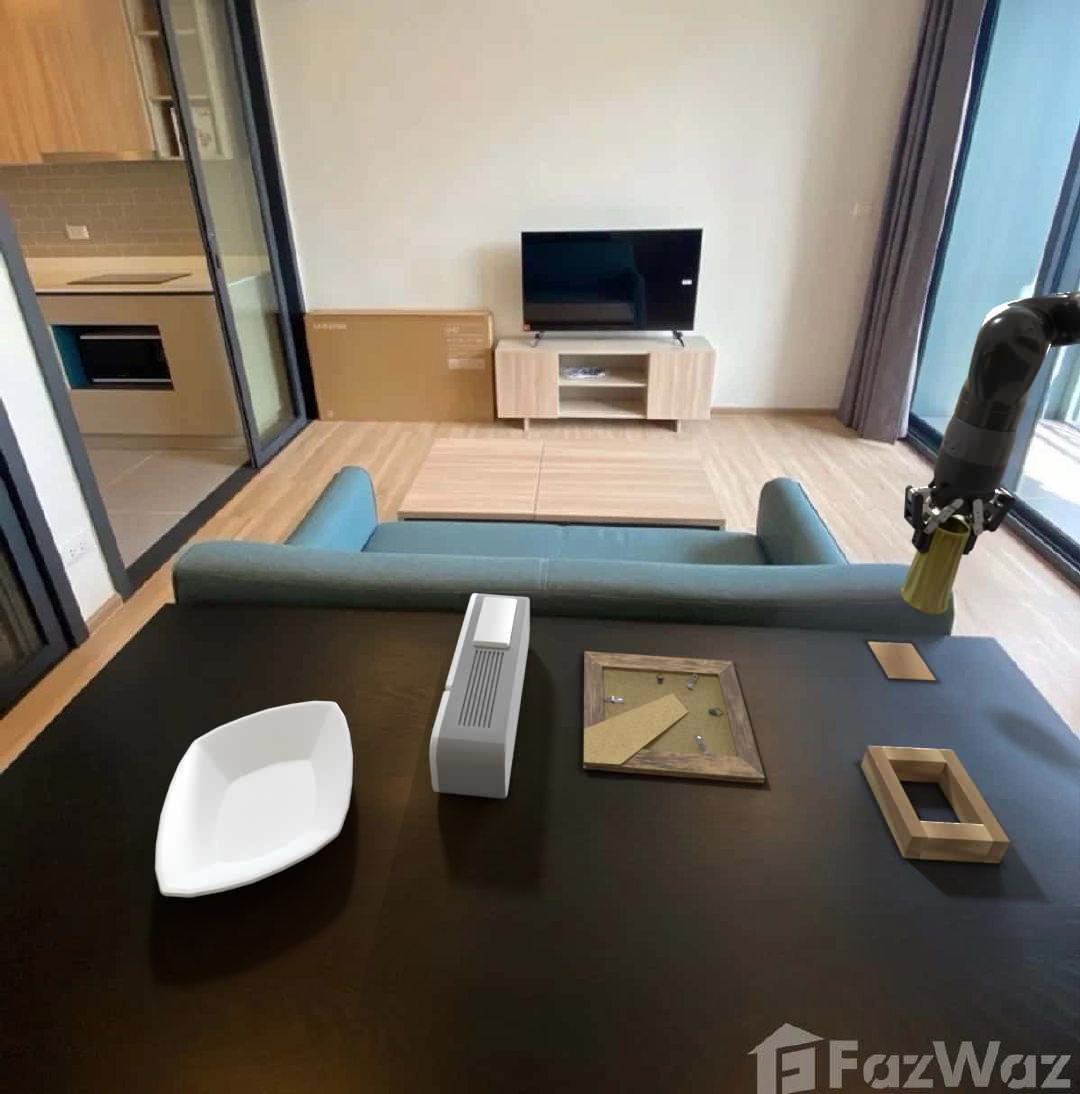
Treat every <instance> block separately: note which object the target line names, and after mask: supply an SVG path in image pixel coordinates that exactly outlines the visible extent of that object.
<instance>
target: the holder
mask: <svg viewBox="0 0 1080 1094" xmlns="http://www.w3.org/2000/svg"><path fill="white" fill-rule="evenodd" d="M861 761H862V762H861V763H860V767H861V769H862V772H863V774H864V776H865V778H866V780H867V782H868V784H869V786H870V789H871V791H872V793H873V795H874V798H875V800H876V802H877V804H878V806H879V808H880V810H881V812H882V815H883V817H884V819H885V822H886V823H887V825H888V828H889V829H890V832H891V834H892V836H893V838H894V840H895V842H896V844H897V847H898V849H899V851H900V854H901V856H902V857H903V858H904V859H918V860H937V861H953V862H970V863H971V862H972V863H989V864H1000V862H1001V861H1002V859H1003V857H1004V855H1005V853H1006V851H1007V849H1008V848H1009V846H1010V844H1011V840H1010V839H1009V838H1008V836H1007V834H1006V833H1005V831H1004V830H1003V828H1002V826H1001V824H1000V823H999V822H998V820H997V819H996V817H995V815H994V814H993V812H992V810H991V808H990V807H989V806H988V804H987V803H986V801H985V799H984V798H983V796H982V795H981V793H980V791H979V790H978V788H977V787H976V784H975V783H974V782H973V780H972V779H971V777H970V776H969V774H968V773H967V771H966V768H964V766H963V764H962V763H961V761H960V760H959V758H958V756H957V755H956V753H955V752H954V750H953V749H942V748H940V749H939V748H938V749H937V748H925V747H924V748H921V747H900V746H885V745H883V746H879V745H867V747H866V750H865V752H864V755H863V758H862V760H861ZM900 781H902V782H918V783H937V784H938V786H939V787H940V789H941V790H942V793H943V794H944V796H945V798H946V799H947V801H948V803H949V805H950V806H951V808H952V810H953V811H954V813H955V815H956V816H957V818H958V820H959V822H960V823H959V822H943V821H941V822H940V821H923V820H920V819H919V818H918V816H917V814H916V812H915V809H914V807H913V805H912V804H911V802H910V800H909V798H908V796H907V794H906V792H905V790H904V788H903V786H902V785H901V782H900Z"/></svg>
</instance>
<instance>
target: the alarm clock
mask: <svg viewBox="0 0 1080 1094" xmlns="http://www.w3.org/2000/svg"><path fill="white" fill-rule="evenodd" d="M530 603H531V602H530V598H529V597H527V596H514V595H503V594H502V595H499V594H488V593H472V594H471V595H470V597H469V602H468V604H467V605H468V606H467V608H466V610H465V614H464V619H463V622H462V626H461V629H460V632H459V636H458V640H457V644H456V647H455V650H454V654H453V658H452V661H451V665H450V668H449V671H448V675H447V679H446V681H445V687H444V688H445V690H444V691H443V693H442V697H441V700H440V704H439V707H438V710H437V714H436V717H435V720H434V725H433V728H432V732H431V736H430V742H429V751H428V752H429V753H428V757H429V759H428V760H429V769H430V778H431V787H432V790H433V792H435V793H442V794H443V793H444V794H453V795H463V796H471V797H472V796H473V797H480V798H481V797H483V798H492V799H501V800H505V799H506V798H507V797H508V792H509V786H510V780H511V779H510V778H511V771H512V765H513V759H514V751H515V745H516V737H517V729H518V723H519V716H520V708H521V701H522V694H523V686H524V680H525V673H526V665H527V659H528V651H529V644H530V632H531V631H530V629H531V626H530V625H531V624H530V623H531V621H530V620H531V619H530V617H531V616H530V615H531V612H530V611H531V609H530V605H531V604H530Z"/></svg>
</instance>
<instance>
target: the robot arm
mask: <svg viewBox="0 0 1080 1094" xmlns="http://www.w3.org/2000/svg"><path fill="white" fill-rule="evenodd" d="M975 339H976V340H975V343H974V346H973V351H972V354H971V358H970V362H969V368H968V371H967V377H966V379H965V380H964V383H963V384H962V386H961V389H960V392H959V395H958V398H957V400H956V403H955V406H954V410H953V413H952V416H951V417H950V419H949V421H948V423H947V425H946V427H945V428H946V429H945V431H944V434H943V438H942V441H941V444H940V447H939V451H938V454H937V457H936V460H935V463H934V466H933V478H932V480H931V481H930V482H929V483H928V484H927V486H924V487H918V488H917V487H915V486H914V485H912V484H908V485H907V486H905V489H904V507H903V508H904V509H903V518H904V519H905V521H906V522H907V523H908V525H909V526H910V527H912V529H913V534H912V538H911V544H912V546H913V547H914V548H915V549H916V551H918V552H919V553H927V550H928V547H929V544H930V541H931V538H932V535H933V534H932V532H933V531H934V529H935V528H936V527H937V526H938V525H939V524H940V523H944V522H945V521H946V520H947V519H948V518H949V517H950V516H961V517H962V520H963V521H965V522H966V523H967V524H968V525H969V527H970V529H971V532H970V535H969V538H968V540H967V543H966V545H965V548H964V551H963V554H962V556H968V555H970V553H971V552H972V551H973V550H974V548H975V545H976V542H977V540H978V537H979V536H981V535H982V534H983V533H984V532H987V531H988V532H990V533H994V532H996V531H997V530H998V529H999V527H1000V525H1001V524H1002V523H1003V521H1004V519H1005V518H1006V516H1007V515H1008V513H1009V512H1010V510H1011V508H1012V507H1013V505H1014V504H1015V502H1016V498H1015V497H1014V496H1013V495H1011V494H1010V493H1009V492H1008V491H1006V490H1005V489H1003V488H1002V487H1000V484H1001V482H1002V480H1003V477H1004V474H1005V472H1006V470H1007V469H1006V468H1007V465H1008V463H1009V460H1010V458H1011V455H1012V452H1013V450H1014V447H1015V445H1016V440H1017V434H1018V429H1019V426H1020V424H1021V421H1022V418H1023V416H1024V413H1025V411H1026V407H1027V404H1028V400H1029V396H1030V391H1031V389H1032V387H1033V384H1034V383H1035V381H1036V379H1037V377H1038V375H1039V372H1040V370H1041V368H1042V366H1043V364H1044V362H1045V359H1046V357H1047V355H1048V352H1049V350H1050V349H1054V348H1060V347H1068V346H1075V345H1080V290H1077V291H1068V292H1060V293H1052V294H1046V295H1039V296H1033V297H1027V298H1022V299H1018V300H1014V301H1010V302H1006V303H1003V304H1001V305H999V306H996V307H995V308H993V309H992V310H991V311H990V312H989V313H988V314H987V315H986V316H985V318H984V319H983V321H982V323H981V326H980V327H979V330H978V332H977V336H976V338H975ZM938 511H939V512H938ZM930 517H931V519H930V520H929V521H928V522H927V520H928V519H929V518H930Z"/></svg>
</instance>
